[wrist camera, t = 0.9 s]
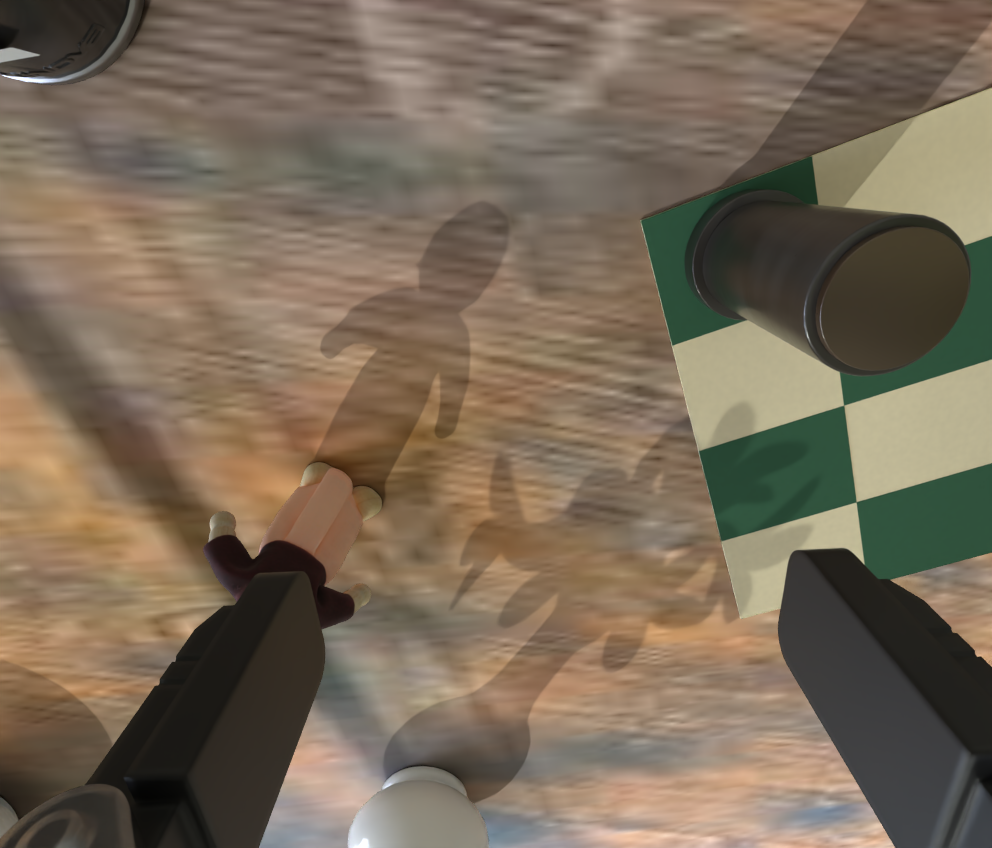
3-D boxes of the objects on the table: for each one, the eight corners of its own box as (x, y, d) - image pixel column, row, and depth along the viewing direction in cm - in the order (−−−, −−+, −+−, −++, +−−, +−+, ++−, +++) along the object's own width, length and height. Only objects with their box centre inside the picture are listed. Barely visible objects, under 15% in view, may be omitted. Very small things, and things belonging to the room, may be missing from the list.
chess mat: (640, 220, 25) (640, 220, 24) (1200, 8, 21) (1205, 6, 21) (740, 617, 34) (741, 619, 34) (1143, 509, 31) (1146, 511, 30)
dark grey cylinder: (671, 216, 24) (781, 242, 15) (797, 169, 24) (996, 165, 14) (697, 330, 26) (808, 417, 17) (814, 290, 26) (997, 357, 16)
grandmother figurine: (410, 487, 30) (355, 683, 19) (385, 541, 32) (319, 754, 20) (271, 432, 29) (118, 605, 17) (251, 491, 30) (97, 687, 19)
